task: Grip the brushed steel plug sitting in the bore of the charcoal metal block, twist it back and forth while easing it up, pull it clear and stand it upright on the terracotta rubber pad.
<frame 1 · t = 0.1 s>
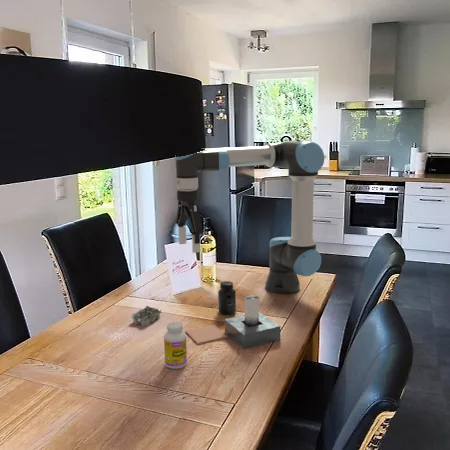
hand: (189, 247, 170), 28 cm above the table, tool pointing down, fingers open, 13 cm apart
supplement bottle: (227, 312, 182), on the table
bored block: (252, 336, 161), on the table
supplement bottle 2: (176, 364, 143), on the table
grey lumpy block: (146, 321, 177), on the table
steel plug: (251, 316, 160), in the bored block
rubber pad: (206, 334, 163), on the table
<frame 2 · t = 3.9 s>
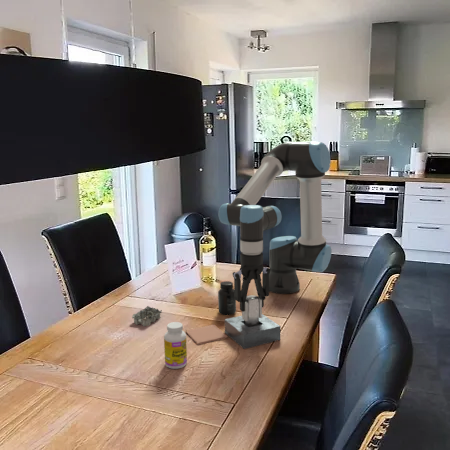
hand: (251, 317, 160), 7 cm above the table, tool pointing down, fingers closed on steel plug, 5 cm apart
steel plug: (251, 316, 160), in the bored block, touching gripper
everything else where it was.
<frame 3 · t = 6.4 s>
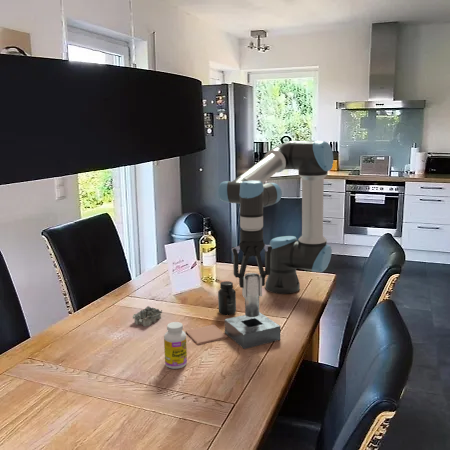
hand: (252, 295, 158), 15 cm above the table, tool pointing down, fingers closed on steel plug, 5 cm apart
steel plug: (252, 294, 158), point 15 cm above the table, touching gripper
everything else where it was.
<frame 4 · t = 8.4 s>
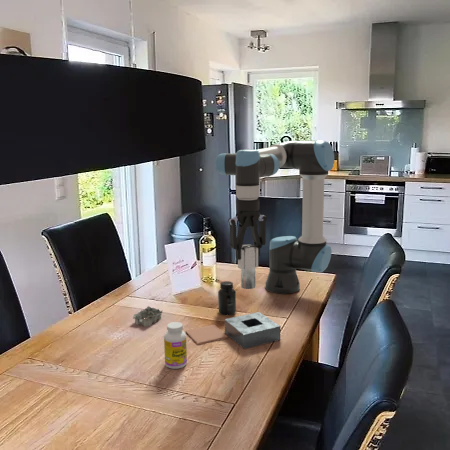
hand: (248, 267, 156), 25 cm above the table, tool pointing down, fingers closed on steel plug, 5 cm apart
steel plug: (248, 266, 156), point 25 cm above the table, touching gripper
everything else where it was.
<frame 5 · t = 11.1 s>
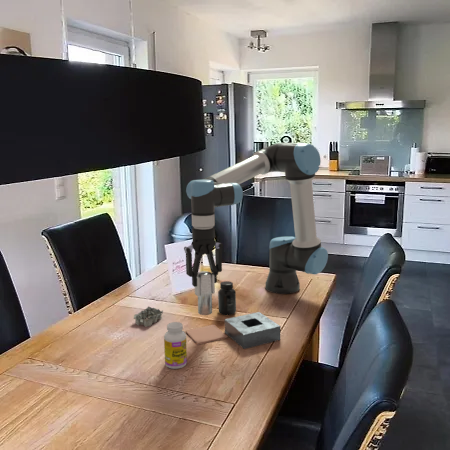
hand: (204, 293, 160), 15 cm above the table, tool pointing down, fingers closed on steel plug, 5 cm apart
steel plug: (204, 292, 160), point 16 cm above the table, touching gripper
when the fingers open (8 cm above the table, at t = 13.1 s): steel plug drops 2 cm, resting on rubber pad.
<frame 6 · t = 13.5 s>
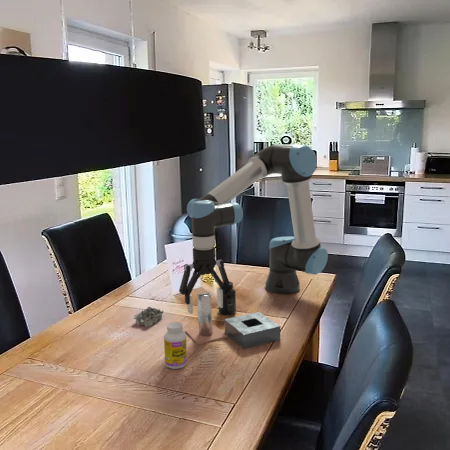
hand: (205, 309, 161), 9 cm above the table, tool pointing down, fingers open, 10 cm apart
steel plug: (204, 313, 161), on the rubber pad, point 8 cm above the table
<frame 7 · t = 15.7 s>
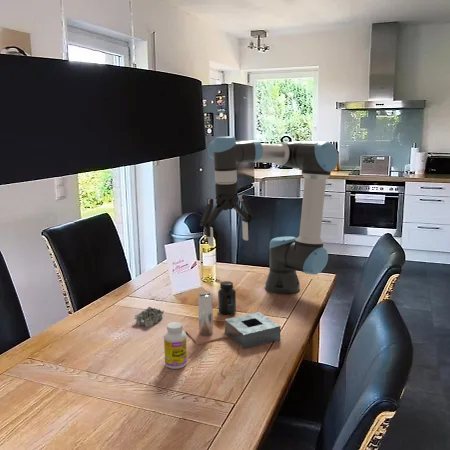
hand: (228, 242, 165), 31 cm above the table, tool pointing down, fingers open, 13 cm apart
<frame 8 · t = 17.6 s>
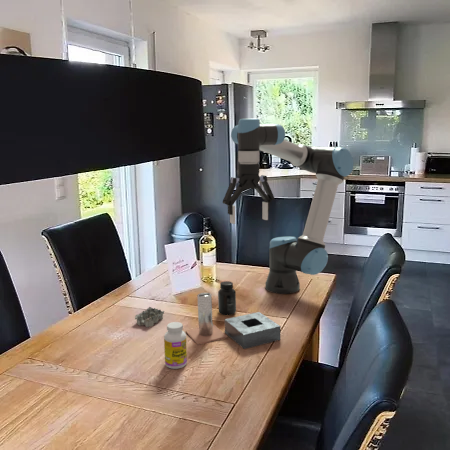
hand: (249, 221, 171), 37 cm above the table, tool pointing down, fingers open, 13 cm apart
at the end: steel plug inside the target area on the rubber pad (0.0 cm from its centre), point 7.8 cm above the rubber pad's base; steel plug tilted 1°; steel plug touching rubber pad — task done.
